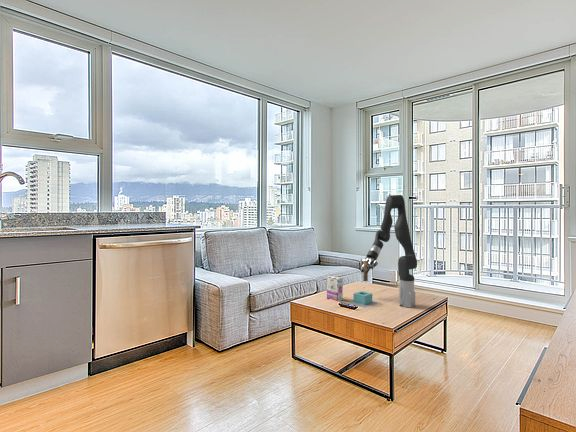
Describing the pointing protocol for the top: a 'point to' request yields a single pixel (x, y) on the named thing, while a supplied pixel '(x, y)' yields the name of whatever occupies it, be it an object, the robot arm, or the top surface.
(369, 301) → the teal block with hole
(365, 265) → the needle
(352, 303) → the board
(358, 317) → the top surface
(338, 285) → the candy bar box
